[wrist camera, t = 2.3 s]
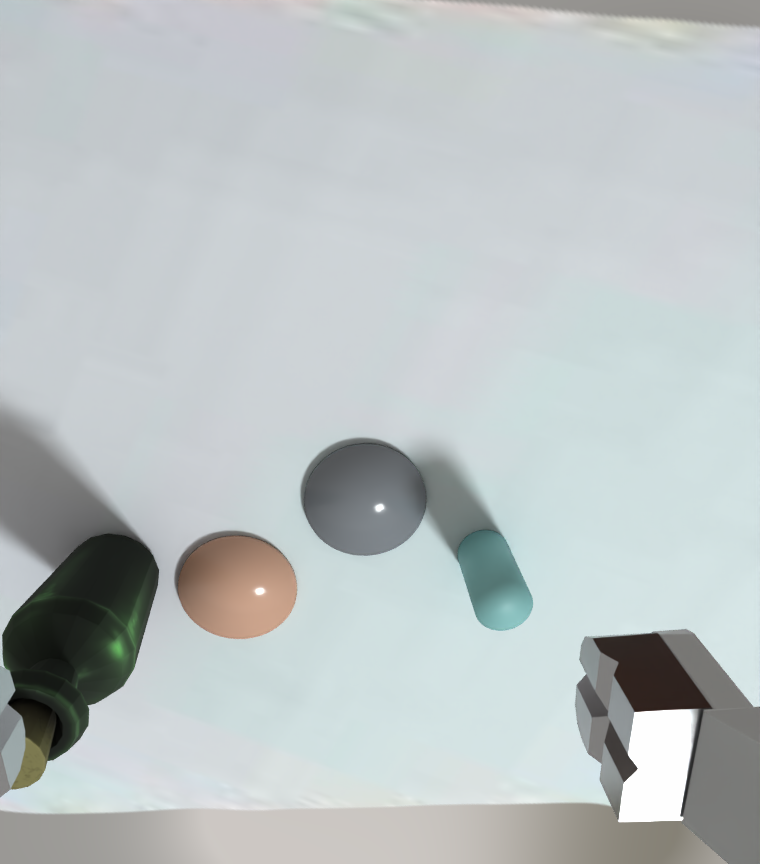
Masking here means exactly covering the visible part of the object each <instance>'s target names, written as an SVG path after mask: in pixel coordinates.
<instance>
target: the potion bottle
mask: <svg viewBox="0 0 760 864" xmlns="http://www.w3.org/2000/svg"><path fill="white" fill-rule="evenodd" d="M158 576H159V569H158V567H157V564H156V562H155V559H154V557H153V555H152V554H151V553H150V552H149V551H148V550H147V549H146V548H145V547H144V546H143V545H142V544H141V543H139V542H137V541H134V540H132V539H130V538H128V537H126V536H120V535H112V534H105V535H101V536H96V537H92V538H90V539H88V540H87V541H85V542H84V543H83V544H81V545H80V546H78V547H77V548H76V549H75V550H74V551H73V552H72V553H71V554H70V556H69V557H68V558H67V559H66V560H65V561H64V562H63V563H62V564H61V565H60V566H59V567H58V568H57V569H56V570H55V571H54V572H53V573H52V574H51V575H50V577H49V578H48V579H47V580H46V581H45V582H44V583H43V584H42V585H41V586H40V587H39V588H38V589H37V590H36V591H35V592H34V593H33V594H32V595H31V596H30V598H29V599H28V600H27V601H26V602H25V603H24V604H23V605H22V606H21V607H20V608H19V609H18V610H17V611H16V612H15V613H14V614H13V615H12V617H11V619H10V621H9V623H8V625H7V627H6V628H5V630H4V632H3V634H2V642H3V662H4V666H5V668H6V669H7V670H9V671H10V674H11V677H12V680H13V684H14V687H15V692H14V693H13V695H12V697H11V698H10V700H9V702H8V703H7V704H8V705H9V706H11V707H12V708H13V709H14V710H15V711H16V712H18V713H19V714H20V715H21V716H22V719H23V723H24V728H25V751H24V756H23V760H22V764H21V768H20V771H19V773H18V775H17V777H16V779H15V781H14V783H13V785H12V787H11V789H19V788H24V787H28V786H30V785H32V784H33V783H35V782H36V781H38V780H39V779H40V777H41V776H42V774H43V773H44V771H45V768H46V764H47V761H50V760H54V759H56V758H57V757H59V756H60V755H62V754H63V753H65V752H67V751H68V750H69V749H70V748H71V747H72V746H73V745H74V744H75V743H76V742H77V741H78V740H79V739H80V738H81V736H82V735H83V733H84V731H85V730H86V728H87V727H88V722H89V708H88V706H87V705H91V704H95V703H97V702H99V701H101V700H102V699H104V698H106V697H107V696H109V695H110V694H112V693H114V692H115V691H117V690H118V689H120V688H121V687H123V686H124V684H125V682H126V681H127V679H128V678H129V676H130V674H131V673H132V671H133V670H134V667H135V664H136V660H137V657H138V653H139V650H140V646H141V643H142V639H143V635H144V632H145V628H146V625H147V621H148V618H149V614H150V611H151V607H152V604H153V600H154V597H155V593H156V590H157V586H158Z"/></svg>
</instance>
